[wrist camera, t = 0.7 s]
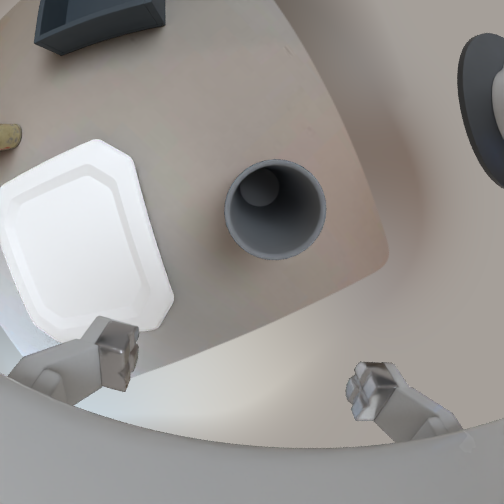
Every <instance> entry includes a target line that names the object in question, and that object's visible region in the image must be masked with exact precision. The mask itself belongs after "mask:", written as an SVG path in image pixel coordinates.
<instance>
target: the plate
mask: <svg viewBox="0 0 504 504" xmlns="http://www.w3.org/2000/svg"><path fill="white" fill-rule="evenodd" d="M0 244H1V247H2V250H3V253H4V256H5V259H6V262H7V264H8V267H9V270H10V272H11V275H12V277H13V280H14V282H15V285H16V287H17V289H18V292H19V294H20V296H21V299H22V301H23V303H24V305H25V307H26V310H27V312H28V314H29V316H30V318H31V320H32V322H33V323H34V325H35V326H36V327H37V328H39V329H40V330H42V331H43V332H44V333H46V334H47V335H49V336H50V337H52V338H53V339H55V340H56V341H58V342H60V343H65V342H68V341H71V340H73V339H76V338H77V339H81V337H82V336H83V335H84V333H85V332H86V331H87V329H88V328H89V326H90V325H91V324H92V322H93V321H94V320H95V318H96V317H97V316H103V317H107V318H110V319H114V320H117V321H121V322H124V323H128V324H131V325H135V326H138V327H139V332H144V331H150V330H155V329H157V328H158V327H160V325H161V323H162V321H163V320H164V318H165V316H166V314H167V312H168V311H169V309H170V307H171V305H172V304H173V302H174V293H173V291H172V288H171V285H170V282H169V279H168V276H167V273H166V270H165V267H164V264H163V261H162V258H161V255H160V252H159V249H158V246H157V242H156V239H155V236H154V233H153V229H152V226H151V223H150V219H149V216H148V213H147V209H146V206H145V202H144V199H143V195H142V191H141V188H140V184H139V180H138V176H137V172H136V168H135V164H134V161H133V160H132V158H131V157H130V156H129V155H127V154H125V153H123V152H122V151H120V150H118V149H116V148H115V147H113V146H111V145H109V144H107V143H106V142H104V141H102V140H100V139H93V140H91V141H89V142H86V143H84V144H82V145H79V146H77V147H75V148H73V149H70V150H68V151H66V152H64V153H62V154H60V155H58V156H55V157H53V158H51V159H49V160H47V161H45V162H43V163H41V164H39V165H38V166H36V167H34V168H32V169H30V170H28V171H26V172H24V173H23V174H21V175H19V176H17V177H15V178H14V179H12V180H10V181H8V182H7V183H5V184H3V185H2V186H1V188H0Z"/></svg>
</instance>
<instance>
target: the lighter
mask: <svg viewBox="0 0 504 504" xmlns="http://www.w3.org/2000/svg"><path fill="white" fill-rule="evenodd" d="M20 139H21V129H20V127H19V125H17V124H0V151H2V150H7V149H12V148H15V147H16V146H17V145H18V144H19V142H20Z"/></svg>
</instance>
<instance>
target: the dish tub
mask: <svg viewBox="0 0 504 504" xmlns="http://www.w3.org/2000/svg"><path fill="white" fill-rule="evenodd" d="M164 25H165V0H41V1H40V6H39V11H38V17H37V24H36V31H35V39H34V44H36V45H38V46H41V47H43V48H45V49H47V50H50V51H52V52H54V53H56V54H59V55H61V56H62V55H64V54H67V53H70V52H72V51H75V50H78V49H80V48H83V47H86V46H89V45H92V44H95V43H98V42H101V41H104V40H107V39H111V38H114V37H118V36H121V35H125V34H129V33H133V32H137V31H141V30H145V29H149V28H154V27H159V26H164Z"/></svg>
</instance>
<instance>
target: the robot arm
mask: <svg viewBox="0 0 504 504" xmlns="http://www.w3.org/2000/svg"><path fill="white" fill-rule="evenodd" d="M492 104H493V110H494V115H495V119H496V122H497V125H498V128H499V131H500V133H501V135H502V137H503V139H504V65H503V68H502V70H501V71H499V72H498V73H497V74H496V76H495V78H494V81H493V86H492ZM138 337H139V327H138V326H135V325H131V324H128V323H124V322H121V321H117V320H114V319H110V318H107V317H103V316H97V317H96V318H95V320H94V321H93V322H92V324H91V325H90V326H89V328H88V329H87V331H86V332H85V333H84V335H83V336H82V337H81V339H77V338H76V339H73V340H71V341H68V342H65V343H62V344H59V345H56V346H53V347H51V348H48V349H45V350H42V351H39V352H36V353H33V354H30V355H27V356H24V357H23V358H22V359H21V360H20V361H19V363H18V364H17V365H16V366H15V367H14V369H13V370H12V371H11V372H10V374H9V375H8V376H6V375H4V374H2V373H0V504H504V418H502V419H499V420H496V421H493V422H489V423H486V424H483V425H479V426H476V427H473V428H468V429H465V430H463V428H462V426H461V425H460V423H459V422H458V420H457V419H456V417H455V416H454V414H453V413H452V412H450V411H449V410H447V409H445V408H444V407H442V406H441V405H439V404H438V403H436V402H434V401H433V400H431V399H430V398H428V397H427V396H425V395H423V394H422V393H420V392H419V391H417V390H416V389H414V388H412V387H409V386H408V384H407V383H406V381H405V380H404V378H403V376H402V375H401V373H400V372H399V370H398V369H397V367H396V366H395V364H393V363H387V362H382V363H375V362H374V363H373V362H359V363H358V364H357V365H356V367H355V369H354V371H355V375H354V376H352V377H351V378H350V379H349V381H348V383H347V385H346V397H347V400H348V401H349V402H350V403H351V404H352V405H353V406H352V408H351V410H352V413H353V415H354V418H355V420H356V421H374V422H375V423H376V424H377V425H378V426H379V427H380V428H381V429H382V430H383V431H384V432H385V433H386V434H387V435H388V436H389V437H390V438H391V439H392V440H393V441H395V443H390V444H382V445H372V446H361V447H343V448H278V447H262V446H249V445H238V444H230V443H222V442H214V441H208V440H201V439H195V438H190V437H184V436H178V435H173V434H169V433H164V432H160V431H155V430H151V429H147V428H143V427H139V426H135V425H132V424H128V423H124V422H121V421H117V420H114V419H111V418H108V417H104V416H101V415H98V414H95V413H92V412H89V411H86V410H84V409H81V408H78V407H75V406H74V405H75V404H77V403H78V402H80V401H81V400H83V399H84V398H86V397H88V396H89V395H91V394H92V393H94V392H95V391H97V390H98V389H100V388H102V386H104V387H107V388H111V389H115V390H119V391H122V392H125V391H126V388H127V386H128V384H129V381H130V373H131V372H133V371H134V369H135V366H136V363H137V358H138V348H139V346H138V345H137V343H136V342H137V340H138Z"/></svg>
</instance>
